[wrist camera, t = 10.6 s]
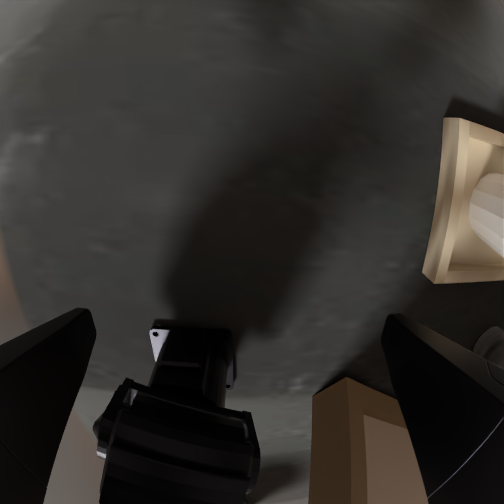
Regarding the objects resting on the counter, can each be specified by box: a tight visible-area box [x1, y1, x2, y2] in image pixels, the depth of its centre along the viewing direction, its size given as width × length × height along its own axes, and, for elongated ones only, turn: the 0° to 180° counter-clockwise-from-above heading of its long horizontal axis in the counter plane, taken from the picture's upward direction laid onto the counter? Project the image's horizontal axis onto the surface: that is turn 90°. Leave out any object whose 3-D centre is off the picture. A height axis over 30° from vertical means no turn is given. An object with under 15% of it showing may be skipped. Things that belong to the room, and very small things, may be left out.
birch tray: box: [422, 118, 504, 284], centre depth 18 cm, size 12×12×2 cm
